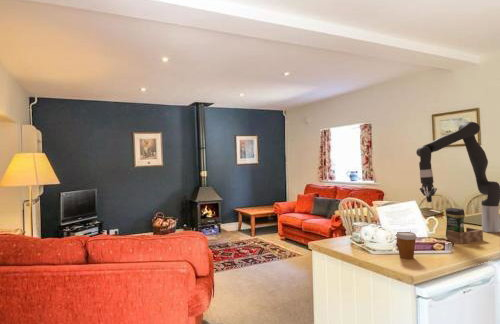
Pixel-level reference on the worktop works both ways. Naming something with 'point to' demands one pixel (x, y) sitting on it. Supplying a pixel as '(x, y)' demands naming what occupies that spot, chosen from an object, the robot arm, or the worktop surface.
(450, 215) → the coffee jar
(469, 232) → the bracket
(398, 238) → the disposable coffee cup
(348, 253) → the worktop surface
